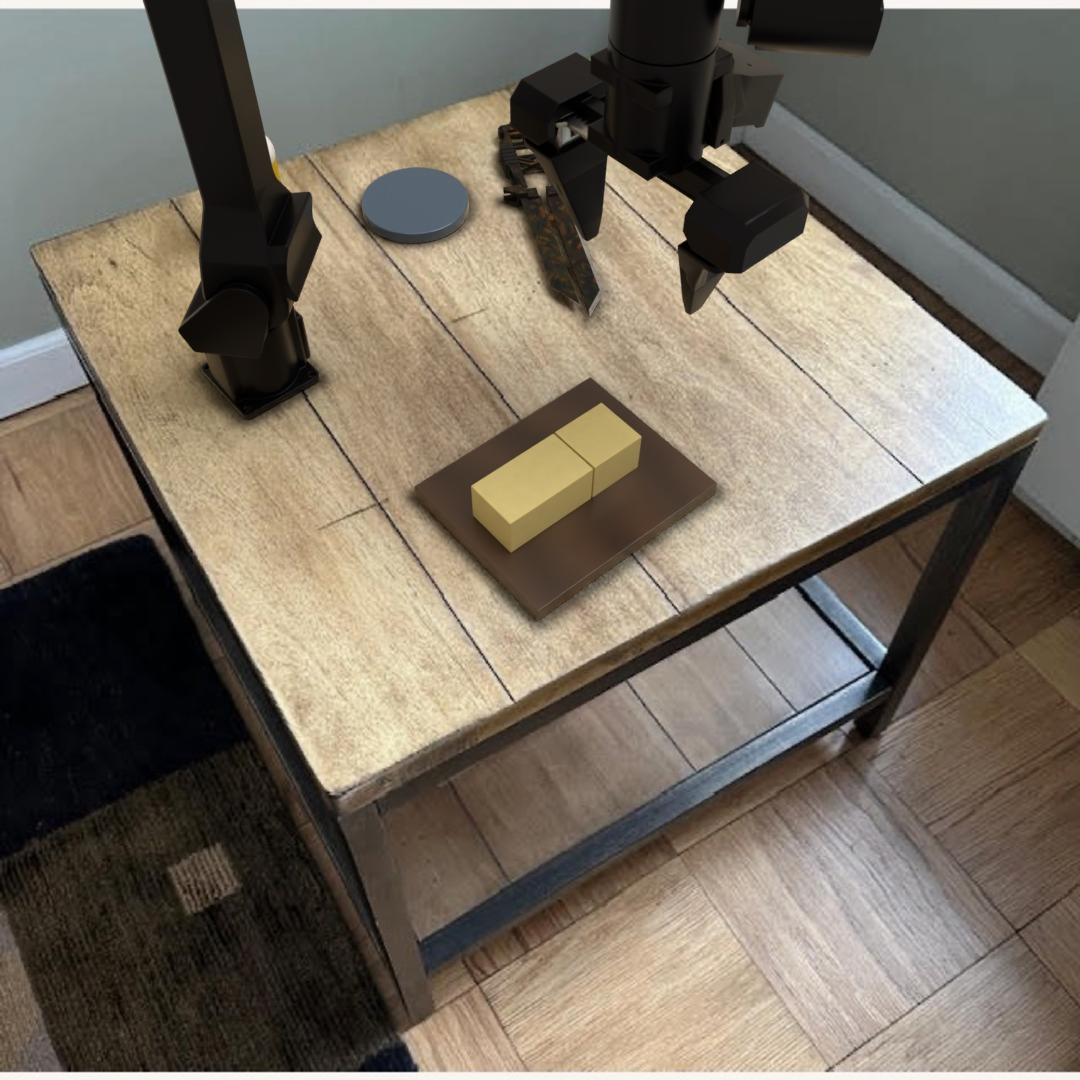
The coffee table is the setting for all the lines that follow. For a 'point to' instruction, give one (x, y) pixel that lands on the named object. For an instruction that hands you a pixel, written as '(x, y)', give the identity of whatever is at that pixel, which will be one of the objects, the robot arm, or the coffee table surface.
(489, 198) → the coffee table surface
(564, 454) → the butter stick
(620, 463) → the butter pat
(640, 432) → the board
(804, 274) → the coffee table surface
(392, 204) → the plate
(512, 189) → the knife
